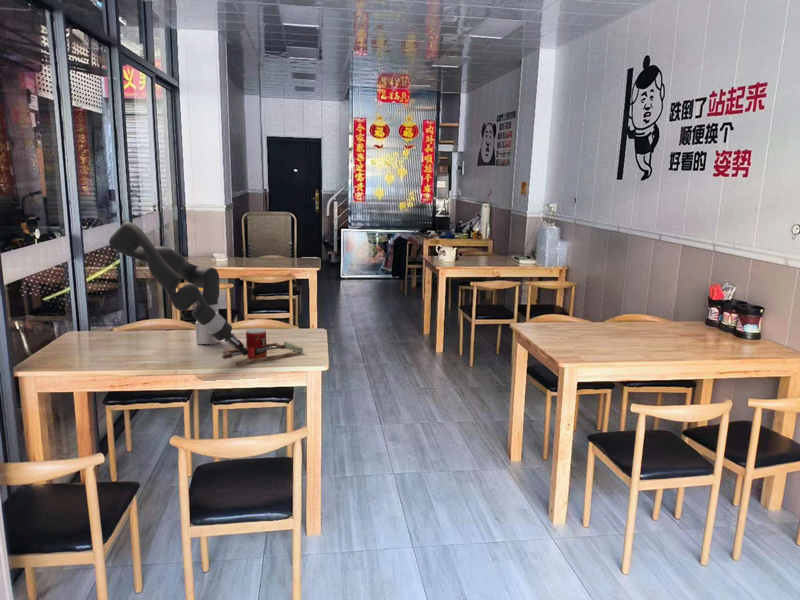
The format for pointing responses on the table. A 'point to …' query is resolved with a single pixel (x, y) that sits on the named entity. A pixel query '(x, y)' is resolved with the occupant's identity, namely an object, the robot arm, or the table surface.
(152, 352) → the table surface
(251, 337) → the canned food
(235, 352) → the brown pliers
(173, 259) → the robot arm
